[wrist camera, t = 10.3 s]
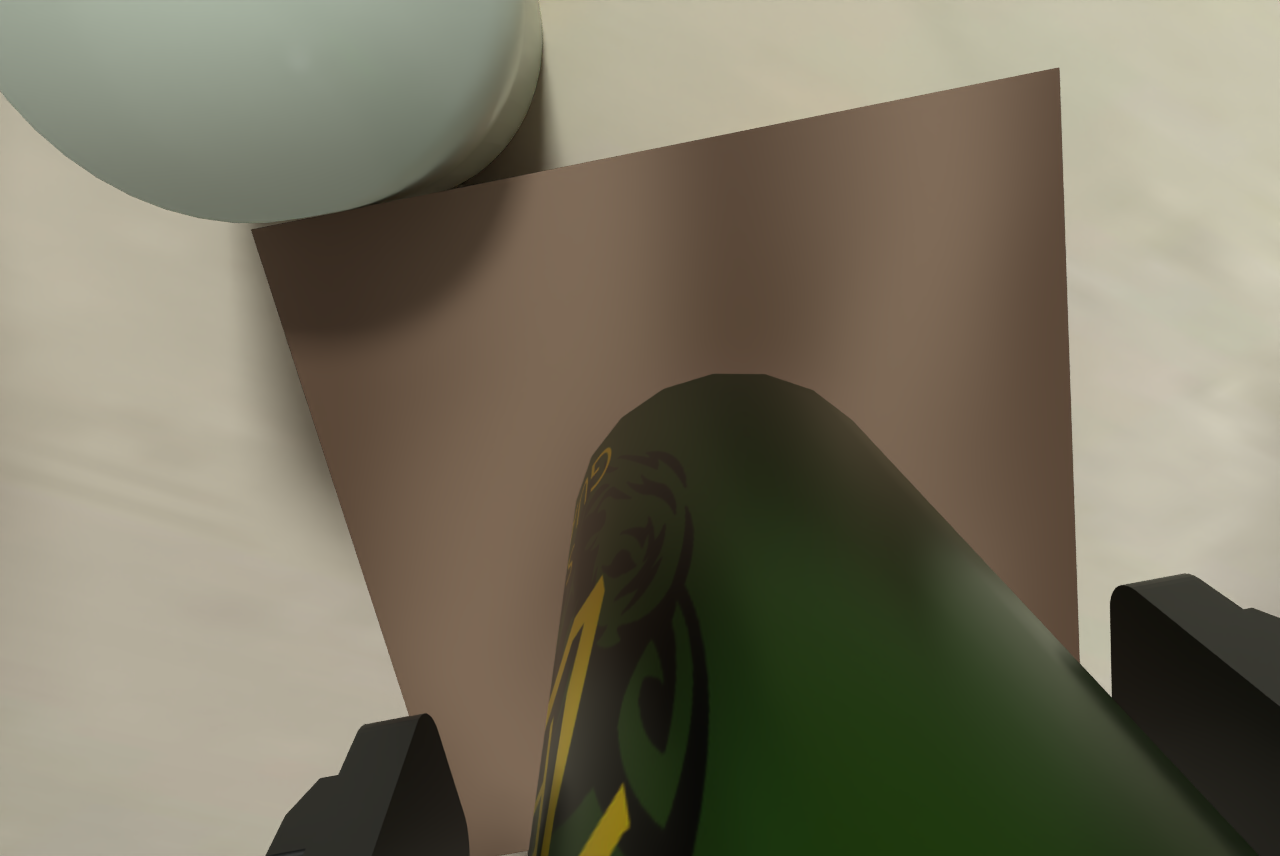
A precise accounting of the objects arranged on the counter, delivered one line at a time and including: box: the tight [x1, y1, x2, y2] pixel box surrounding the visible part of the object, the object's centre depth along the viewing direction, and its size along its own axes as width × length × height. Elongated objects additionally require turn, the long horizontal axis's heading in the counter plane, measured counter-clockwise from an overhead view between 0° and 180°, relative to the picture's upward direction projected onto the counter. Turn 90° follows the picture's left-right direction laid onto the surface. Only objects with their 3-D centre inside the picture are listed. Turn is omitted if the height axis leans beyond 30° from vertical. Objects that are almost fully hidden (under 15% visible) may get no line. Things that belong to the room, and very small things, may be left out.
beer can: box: [528, 374, 1259, 856], centre depth 9 cm, size 5×5×12 cm
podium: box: [251, 68, 1080, 856], centre depth 18 cm, size 13×13×6 cm
